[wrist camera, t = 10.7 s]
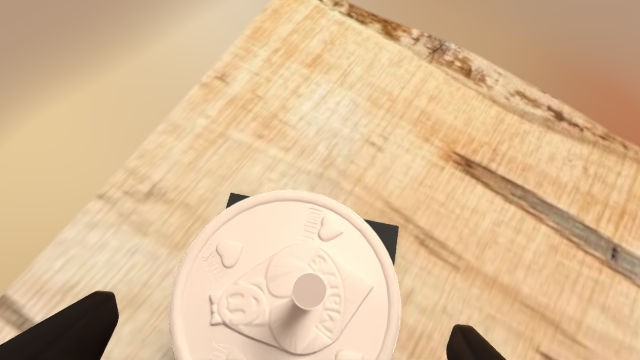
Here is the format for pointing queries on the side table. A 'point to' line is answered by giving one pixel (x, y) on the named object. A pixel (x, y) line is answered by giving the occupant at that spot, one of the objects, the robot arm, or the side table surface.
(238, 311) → the smoothie
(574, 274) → the side table surface
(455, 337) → the robot arm
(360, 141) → the side table surface
